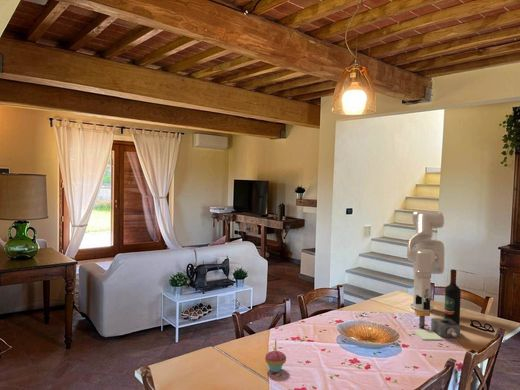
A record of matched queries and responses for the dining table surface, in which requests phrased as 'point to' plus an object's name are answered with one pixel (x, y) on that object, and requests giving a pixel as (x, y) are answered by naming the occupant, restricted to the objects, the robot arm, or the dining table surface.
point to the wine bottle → (452, 299)
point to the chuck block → (445, 327)
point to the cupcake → (275, 360)
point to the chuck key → (422, 317)
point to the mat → (427, 335)
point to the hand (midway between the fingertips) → (422, 306)
